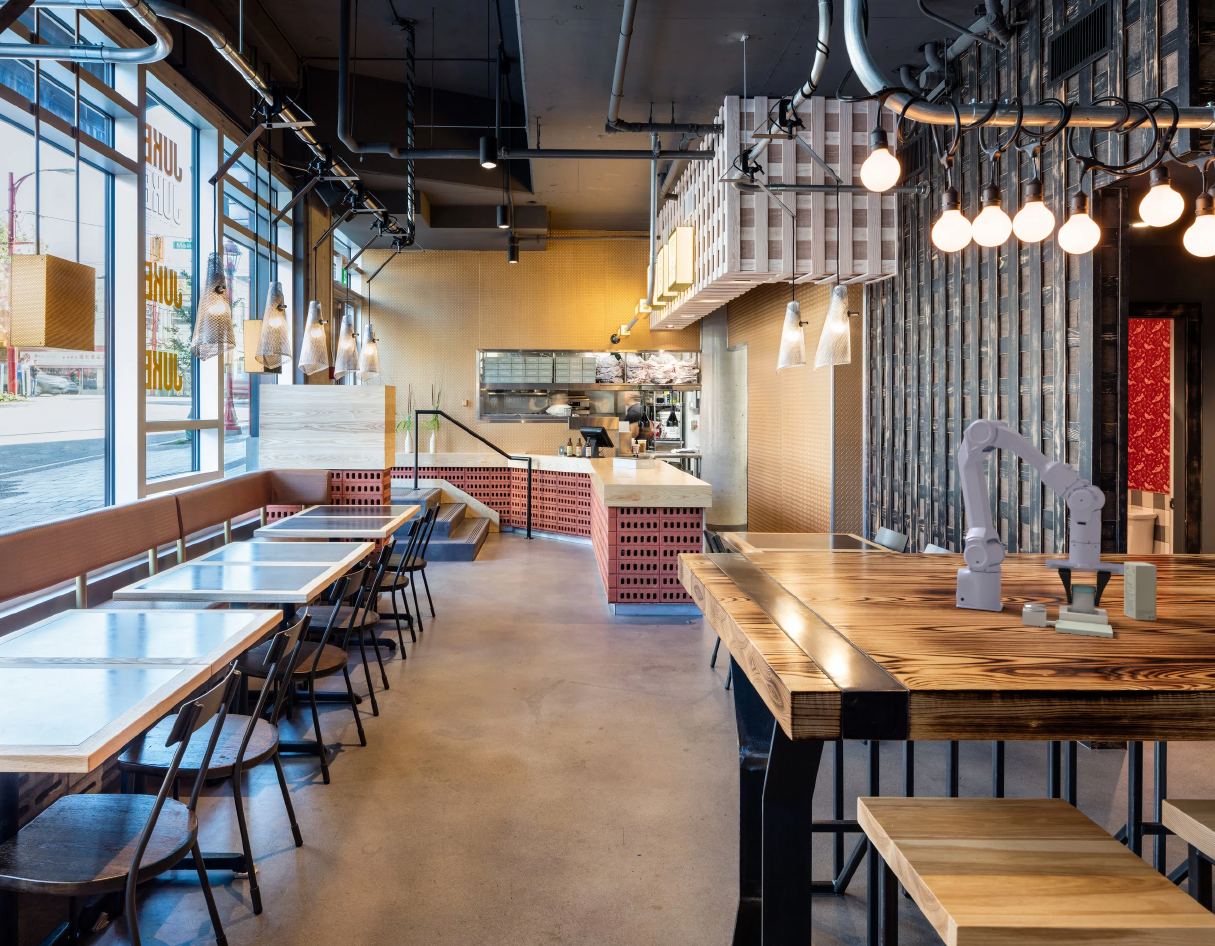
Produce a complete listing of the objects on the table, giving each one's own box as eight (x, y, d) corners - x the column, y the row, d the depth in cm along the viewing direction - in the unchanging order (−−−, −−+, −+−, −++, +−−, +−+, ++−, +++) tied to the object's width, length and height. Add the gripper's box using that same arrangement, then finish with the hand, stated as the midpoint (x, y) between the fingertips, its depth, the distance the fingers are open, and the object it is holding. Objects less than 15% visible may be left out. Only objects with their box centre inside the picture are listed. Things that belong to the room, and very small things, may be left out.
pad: (1055, 632, 164) (1055, 627, 164) (1055, 624, 171) (1055, 619, 171) (1112, 638, 159) (1112, 633, 159) (1110, 630, 166) (1111, 625, 166)
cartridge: (1070, 623, 172) (1071, 586, 171) (1070, 619, 176) (1071, 583, 175) (1095, 625, 169) (1096, 588, 169) (1094, 621, 173) (1095, 585, 173)
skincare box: (1156, 621, 174) (1158, 566, 173) (1134, 620, 175) (1136, 565, 174) (1143, 615, 180) (1145, 561, 180) (1121, 614, 181) (1123, 561, 180)
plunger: (1023, 622, 170) (1023, 605, 170) (1024, 618, 174) (1024, 602, 174) (1044, 624, 168) (1045, 607, 168) (1045, 620, 172) (1045, 604, 172)
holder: (1022, 624, 170) (1022, 610, 170) (1025, 612, 182) (1025, 599, 182) (1108, 633, 162) (1108, 619, 162) (1105, 620, 174) (1106, 607, 174)
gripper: (1046, 541, 172) (1044, 604, 173) (1126, 546, 165) (1124, 611, 165) (1046, 538, 178) (1045, 598, 179) (1124, 542, 171) (1122, 605, 171)
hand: (1083, 604), depth 172 cm, fingers closed on cartridge, 4 cm apart
